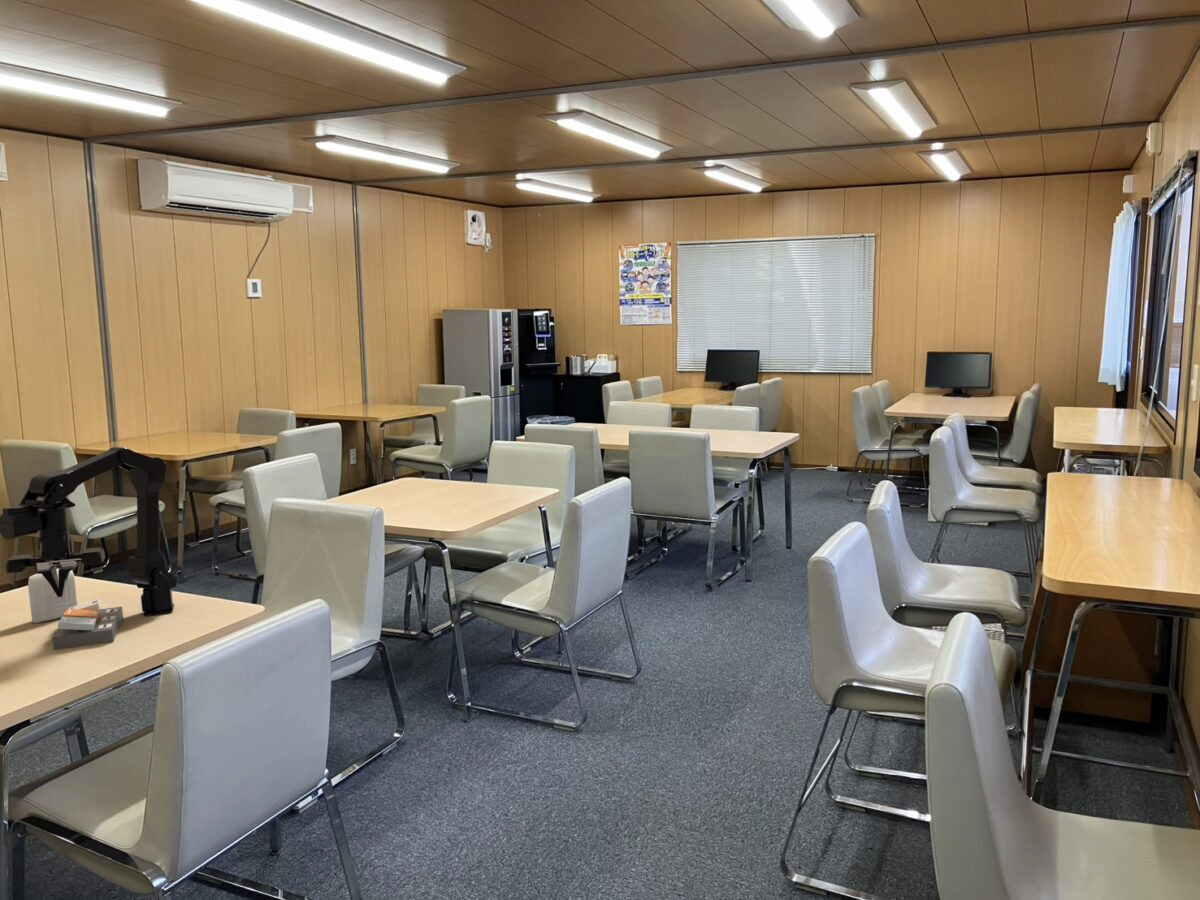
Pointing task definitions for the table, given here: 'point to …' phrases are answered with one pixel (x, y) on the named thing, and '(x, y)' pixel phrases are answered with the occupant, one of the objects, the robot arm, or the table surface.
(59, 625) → the grey-blue rocker
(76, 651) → the table surface
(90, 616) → the orange box with knob
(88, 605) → the ivory rocker
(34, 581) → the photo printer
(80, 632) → the power strip
